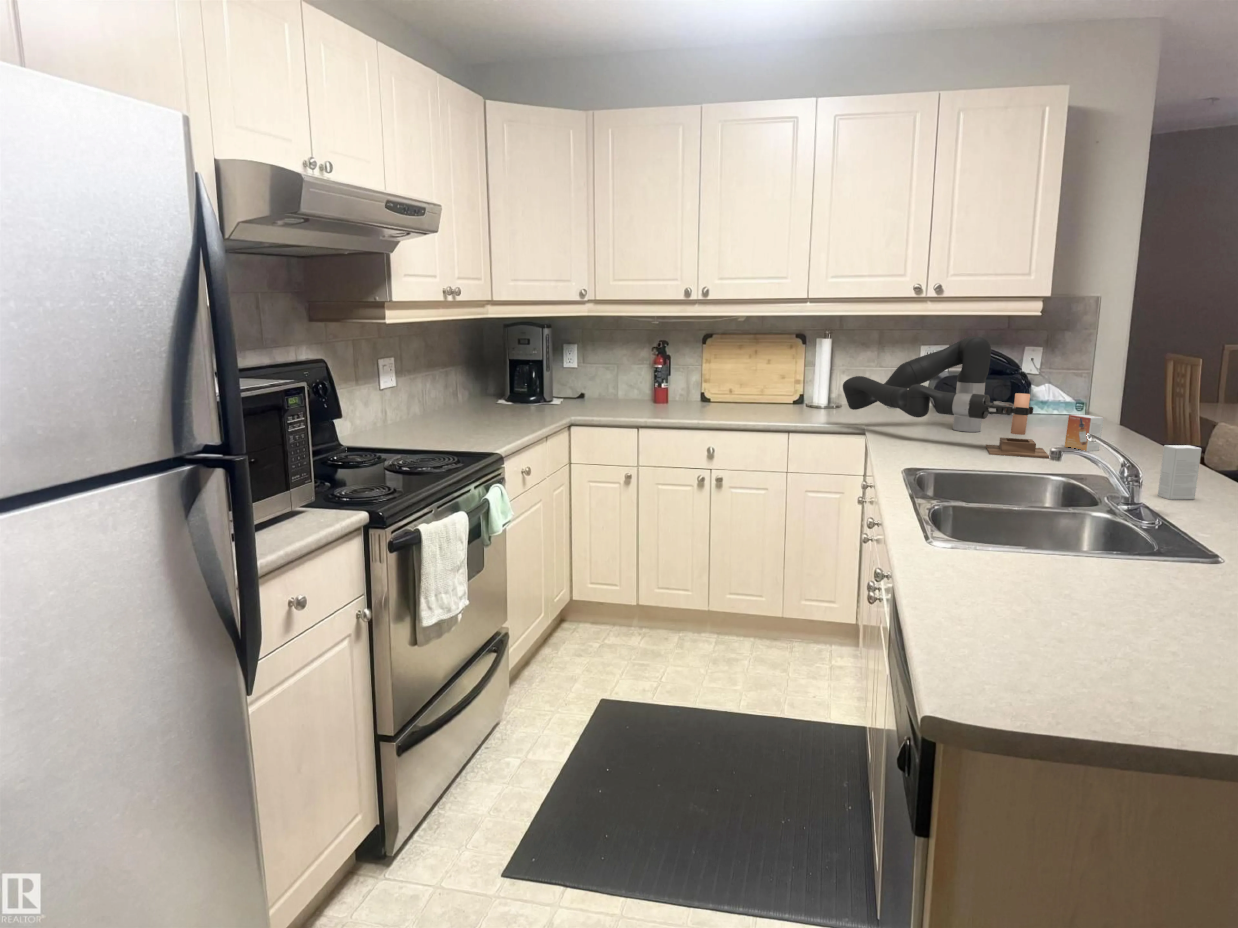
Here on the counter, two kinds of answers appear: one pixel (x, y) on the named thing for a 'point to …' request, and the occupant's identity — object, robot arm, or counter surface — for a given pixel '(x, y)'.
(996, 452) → the socket block
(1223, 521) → the counter surface
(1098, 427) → the small box
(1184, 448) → the skincare box
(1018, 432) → the pin
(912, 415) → the robot arm
